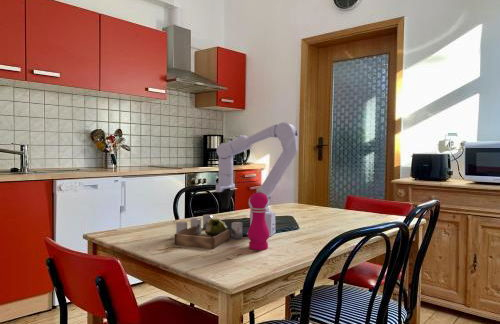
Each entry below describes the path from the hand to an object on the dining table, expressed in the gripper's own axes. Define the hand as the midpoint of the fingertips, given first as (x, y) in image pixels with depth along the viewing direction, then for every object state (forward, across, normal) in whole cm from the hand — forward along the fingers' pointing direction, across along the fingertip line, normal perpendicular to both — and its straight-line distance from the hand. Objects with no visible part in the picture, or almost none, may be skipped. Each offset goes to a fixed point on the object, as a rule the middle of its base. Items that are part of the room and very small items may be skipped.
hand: (225, 208), depth 151 cm
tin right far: (+9, +16, -10) cm, 21 cm away
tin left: (+9, +9, +8) cm, 15 cm away
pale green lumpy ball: (+9, +10, 0) cm, 13 cm away
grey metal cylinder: (+9, 0, -8) cm, 12 cm away
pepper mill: (+9, +18, +20) cm, 29 cm away
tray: (+9, +18, 0) cm, 20 cm away
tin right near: (+9, +8, -9) cm, 15 cm away
